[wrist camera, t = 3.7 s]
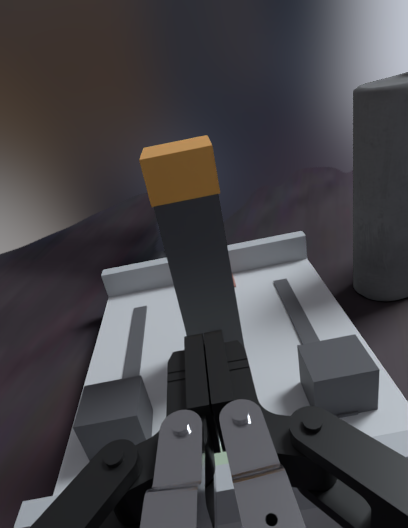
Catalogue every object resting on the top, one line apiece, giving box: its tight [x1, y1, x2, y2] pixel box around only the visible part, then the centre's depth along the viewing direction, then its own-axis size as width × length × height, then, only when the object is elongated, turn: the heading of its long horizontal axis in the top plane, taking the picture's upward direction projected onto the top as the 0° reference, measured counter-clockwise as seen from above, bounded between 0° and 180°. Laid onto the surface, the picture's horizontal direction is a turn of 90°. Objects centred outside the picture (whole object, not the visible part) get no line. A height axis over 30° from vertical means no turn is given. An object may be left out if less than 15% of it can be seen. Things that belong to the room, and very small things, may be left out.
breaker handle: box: [139, 135, 244, 346], centre depth 24 cm, size 3×4×14 cm
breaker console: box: [14, 231, 408, 528], centre depth 28 cm, size 24×20×6 cm
